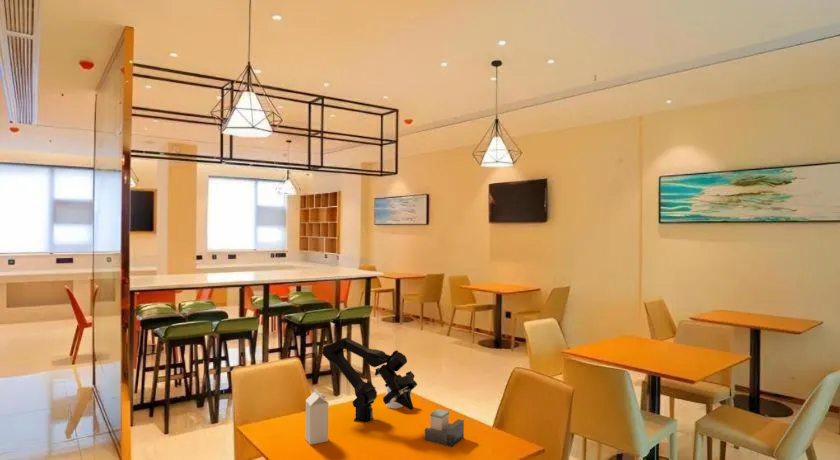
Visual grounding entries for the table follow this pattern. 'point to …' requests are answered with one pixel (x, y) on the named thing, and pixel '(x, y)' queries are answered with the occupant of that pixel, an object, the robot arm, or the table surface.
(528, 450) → the table surface
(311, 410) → the milk carton
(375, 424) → the table surface
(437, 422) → the plunger key
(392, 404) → the mug
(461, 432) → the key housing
